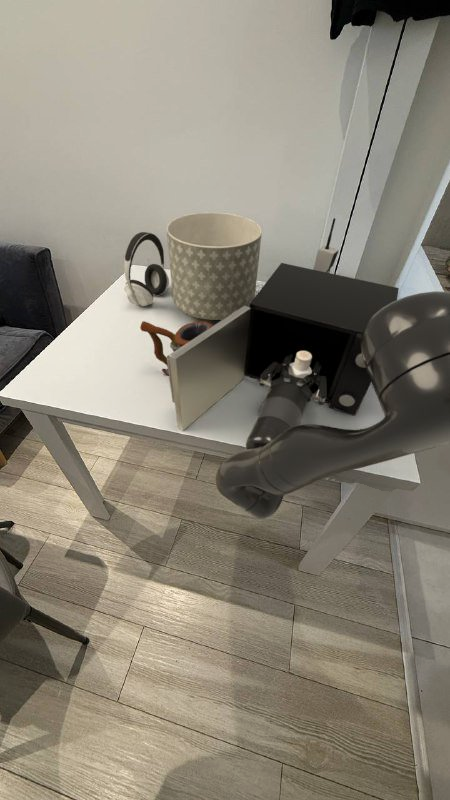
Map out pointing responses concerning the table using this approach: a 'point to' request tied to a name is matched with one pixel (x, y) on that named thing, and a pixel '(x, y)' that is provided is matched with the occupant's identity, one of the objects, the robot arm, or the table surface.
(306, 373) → the pepper shaker
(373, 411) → the table surface
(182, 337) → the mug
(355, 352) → the microwave
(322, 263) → the vintage mobile phone
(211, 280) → the planter
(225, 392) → the microwave door
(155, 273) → the headphones
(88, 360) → the table surface
